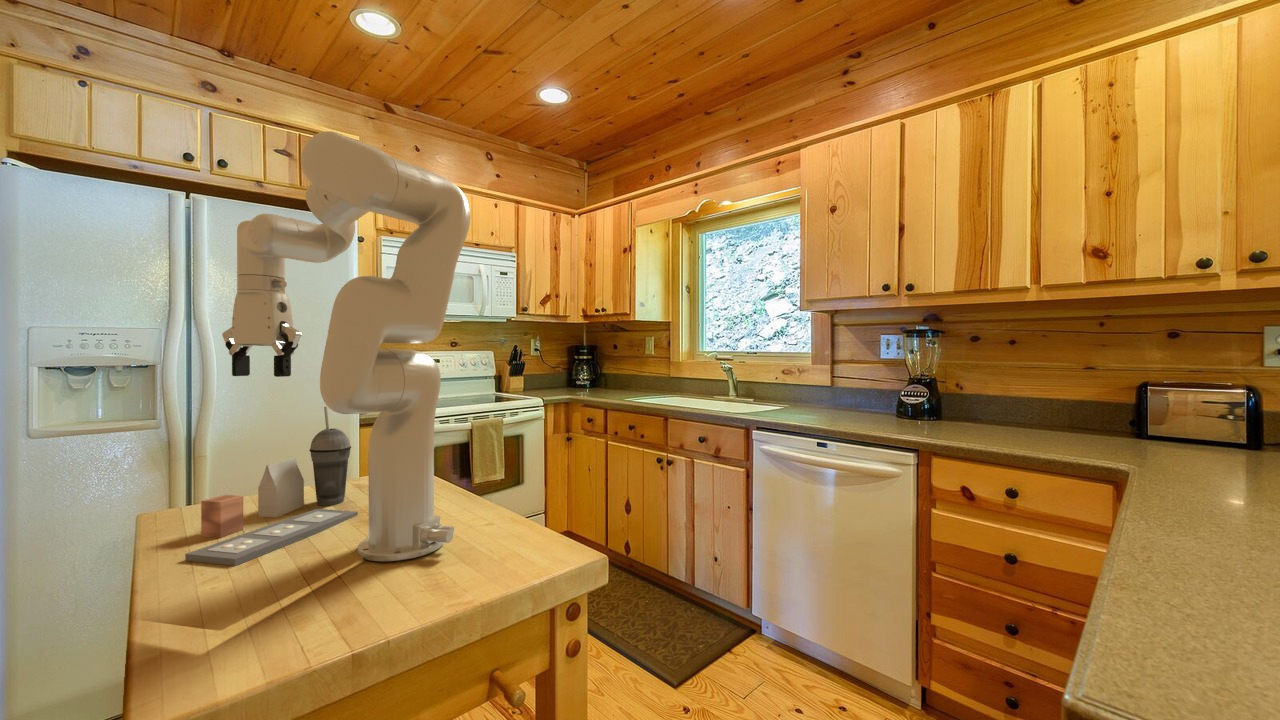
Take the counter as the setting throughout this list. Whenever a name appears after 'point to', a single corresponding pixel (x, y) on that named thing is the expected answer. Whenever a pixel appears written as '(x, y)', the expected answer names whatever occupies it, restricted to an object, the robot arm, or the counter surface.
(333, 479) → the beverage cup
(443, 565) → the counter surface
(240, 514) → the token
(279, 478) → the gable top carton
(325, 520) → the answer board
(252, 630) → the counter surface
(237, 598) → the counter surface
